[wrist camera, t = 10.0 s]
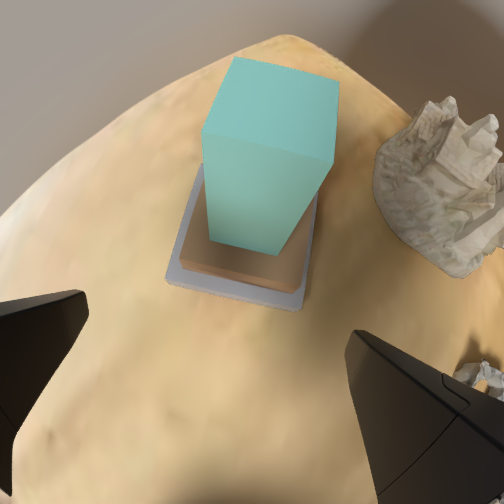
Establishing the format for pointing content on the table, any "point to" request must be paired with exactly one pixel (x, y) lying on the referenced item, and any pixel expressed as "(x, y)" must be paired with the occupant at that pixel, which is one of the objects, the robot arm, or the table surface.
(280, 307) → the slate slab
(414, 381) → the robot arm
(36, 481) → the table surface
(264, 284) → the walnut slab
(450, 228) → the grey jagged round piece
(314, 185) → the teal block
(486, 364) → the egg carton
